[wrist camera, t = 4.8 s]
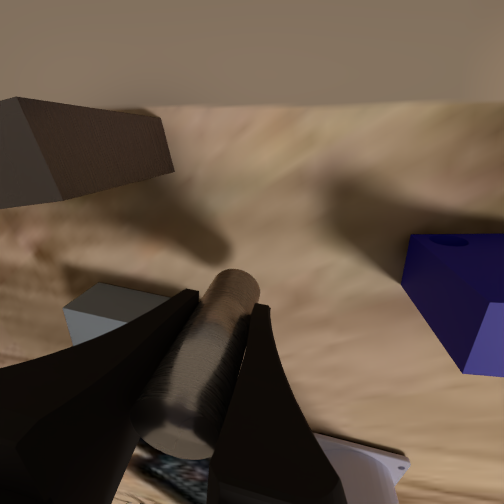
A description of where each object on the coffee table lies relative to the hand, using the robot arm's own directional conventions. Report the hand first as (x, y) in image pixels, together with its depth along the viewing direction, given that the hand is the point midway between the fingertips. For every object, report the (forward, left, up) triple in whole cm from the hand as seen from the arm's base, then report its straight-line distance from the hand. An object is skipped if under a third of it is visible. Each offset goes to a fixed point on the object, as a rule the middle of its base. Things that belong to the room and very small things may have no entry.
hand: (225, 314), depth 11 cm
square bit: (+6, +6, -4) cm, 10 cm away
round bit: (0, 0, -2) cm, 2 cm away
